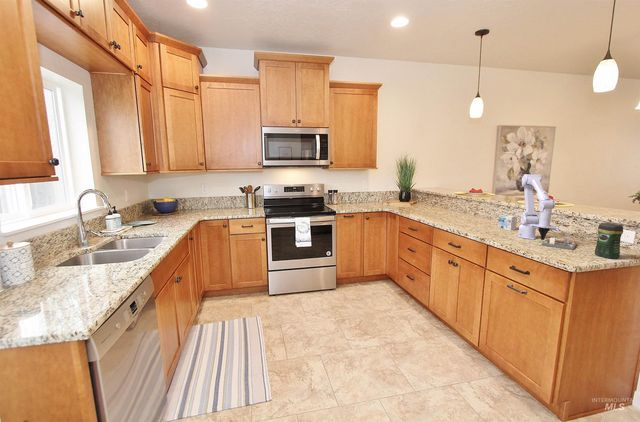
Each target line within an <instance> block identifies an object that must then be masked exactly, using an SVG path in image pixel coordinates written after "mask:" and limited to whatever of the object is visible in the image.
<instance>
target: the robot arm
mask: <svg viewBox="0 0 640 422" xmlns="http://www.w3.org/2000/svg"><path fill="white" fill-rule="evenodd" d="M542 177H543V176H542V175H541V174H540V173H538V174H527V173H524V174H523V175H522V178H521V185H522V186H521V187H522V188H523V190H524V191H523V193H524V204H525V205H524V206H525V207H524V208H525V211H524V212H522V213H521V215H520V223H521V224H520V225H519V227H518V235H517V238H522V239H526V240H527V239H529V240H535V239H537V236H536V232H537V230H536V229H538V232H539V234H540V241H541V240H542V241H545V240H546V236H547V234H548V233H549V231H550V230H553V231H559V229H560V227H559V226H555V225H551V221H552V210H553V209H555V205H556V203H555V201H554V200H553V199H552V198H550V196H549V193H548V192H547V191H546V190H544V188H543V185H542V181H543V178H542ZM534 189H535V191H536V198H537V199H538V202H539V203H538V209H539V210H538V211H539V213H538V212H537V211H535V199H534V198H535V197H534Z"/></svg>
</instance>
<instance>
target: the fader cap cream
mask: <svg viewBox="0 0 640 422" xmlns="http://www.w3.org/2000/svg"><path fill="white" fill-rule="evenodd" d="M549 239H550V244H555V240H557V238H556V237H550V238H549Z"/></svg>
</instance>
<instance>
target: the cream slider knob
mask: <svg viewBox="0 0 640 422" xmlns="http://www.w3.org/2000/svg"><path fill="white" fill-rule="evenodd" d="M570 240H571V237H570V236H564V238H563V241H564V243H568V244H569V242H571V241H570Z"/></svg>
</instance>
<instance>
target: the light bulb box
mask: <svg viewBox="0 0 640 422" xmlns="http://www.w3.org/2000/svg"><path fill="white" fill-rule="evenodd" d="M517 221H518V216H515V215H509V214H499V215H498V225H497V229H501V228H502V230H505V229H507V230H506V231H510V230H511V231H515V229H516V230H517V224H518V223H517Z"/></svg>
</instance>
